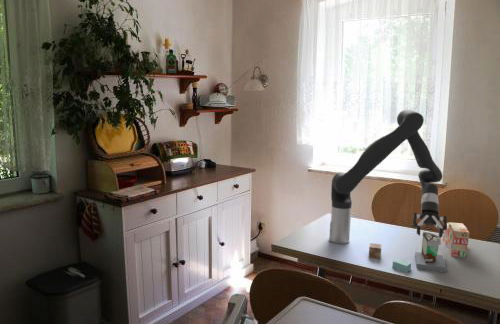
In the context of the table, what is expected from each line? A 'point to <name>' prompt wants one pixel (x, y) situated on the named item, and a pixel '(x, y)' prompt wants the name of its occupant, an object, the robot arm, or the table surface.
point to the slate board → (435, 266)
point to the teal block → (401, 265)
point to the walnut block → (375, 251)
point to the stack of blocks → (456, 239)
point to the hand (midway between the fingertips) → (429, 236)
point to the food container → (430, 247)
